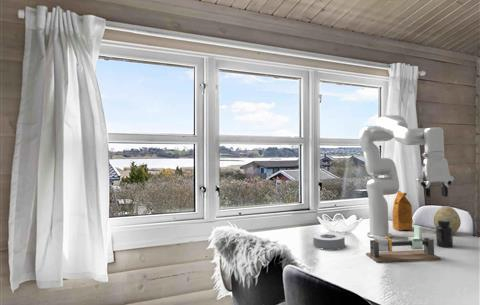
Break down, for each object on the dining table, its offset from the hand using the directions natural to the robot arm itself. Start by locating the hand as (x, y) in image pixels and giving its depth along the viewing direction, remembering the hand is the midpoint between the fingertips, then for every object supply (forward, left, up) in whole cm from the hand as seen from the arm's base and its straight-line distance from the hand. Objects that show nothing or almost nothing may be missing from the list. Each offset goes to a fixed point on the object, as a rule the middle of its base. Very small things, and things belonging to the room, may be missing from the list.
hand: (436, 196), depth 159 cm
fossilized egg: (-39, +28, -26) cm, 55 cm away
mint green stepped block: (0, -10, -22) cm, 24 cm away
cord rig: (0, -16, -26) cm, 30 cm away
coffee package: (-55, +11, -26) cm, 62 cm away
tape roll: (-25, -41, -26) cm, 55 cm away
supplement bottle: (-15, +12, -26) cm, 32 cm away
